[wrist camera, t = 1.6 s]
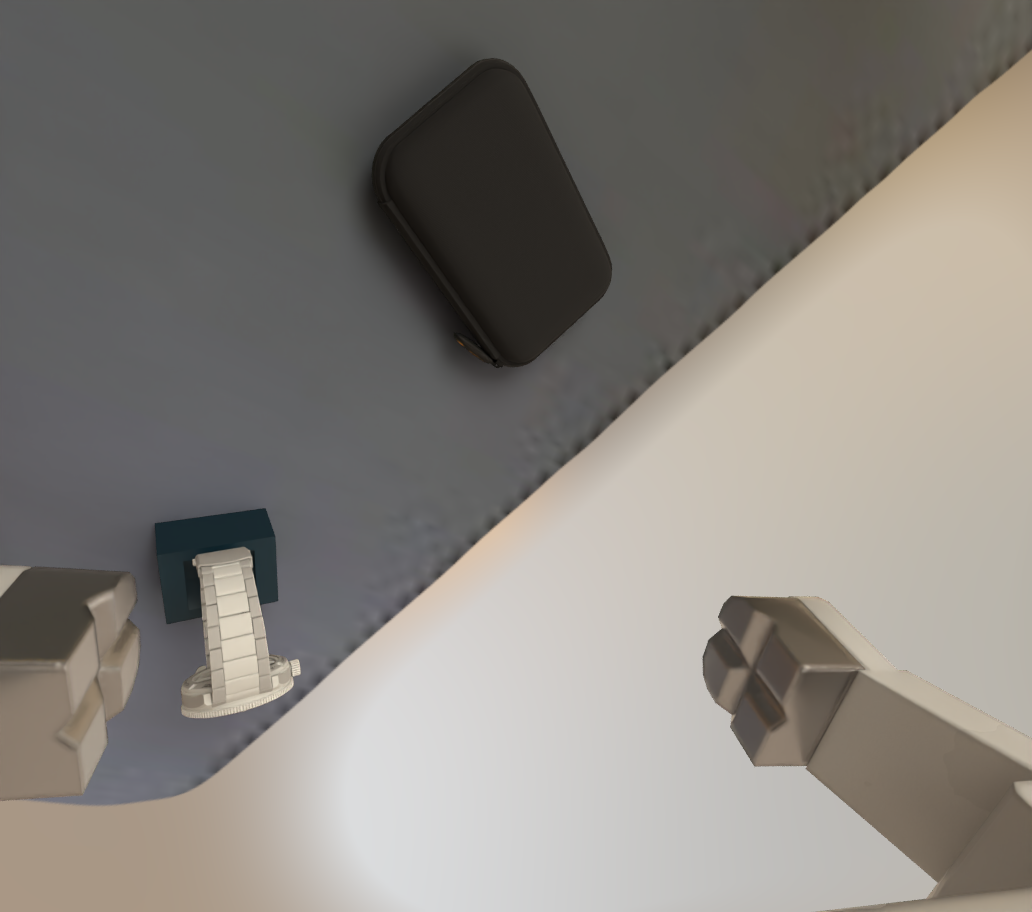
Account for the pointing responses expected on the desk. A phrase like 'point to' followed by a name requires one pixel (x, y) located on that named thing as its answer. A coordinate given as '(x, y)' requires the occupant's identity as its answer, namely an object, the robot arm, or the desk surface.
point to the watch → (224, 608)
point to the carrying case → (493, 214)
